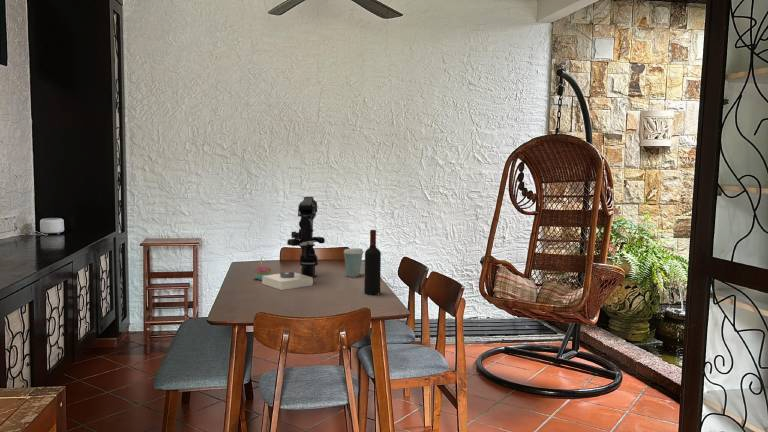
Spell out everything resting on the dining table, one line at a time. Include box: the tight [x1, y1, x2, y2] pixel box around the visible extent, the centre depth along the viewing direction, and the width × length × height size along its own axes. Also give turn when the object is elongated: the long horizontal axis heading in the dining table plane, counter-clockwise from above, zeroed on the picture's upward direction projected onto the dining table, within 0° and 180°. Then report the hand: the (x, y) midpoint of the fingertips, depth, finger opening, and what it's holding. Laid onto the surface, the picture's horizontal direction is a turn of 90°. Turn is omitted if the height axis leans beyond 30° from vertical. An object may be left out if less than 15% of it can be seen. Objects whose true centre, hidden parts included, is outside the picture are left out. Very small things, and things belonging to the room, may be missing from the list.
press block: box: [261, 271, 314, 291], centre depth 313 cm, size 18×18×4 cm
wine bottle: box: [363, 229, 382, 295], centre depth 295 cm, size 8×8×30 cm
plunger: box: [279, 270, 295, 278], centre depth 313 cm, size 7×7×6 cm
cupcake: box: [254, 257, 272, 281], centre depth 325 cm, size 9×8×12 cm
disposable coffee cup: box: [343, 247, 364, 278], centre depth 337 cm, size 11×11×15 cm
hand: (306, 258), depth 315 cm, fingers closed
